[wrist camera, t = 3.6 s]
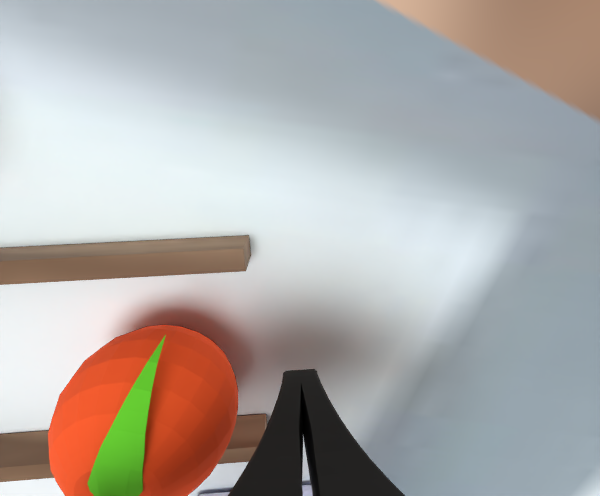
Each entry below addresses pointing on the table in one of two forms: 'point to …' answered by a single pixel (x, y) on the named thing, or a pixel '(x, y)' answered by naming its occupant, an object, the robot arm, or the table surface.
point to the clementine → (144, 416)
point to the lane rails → (106, 265)
